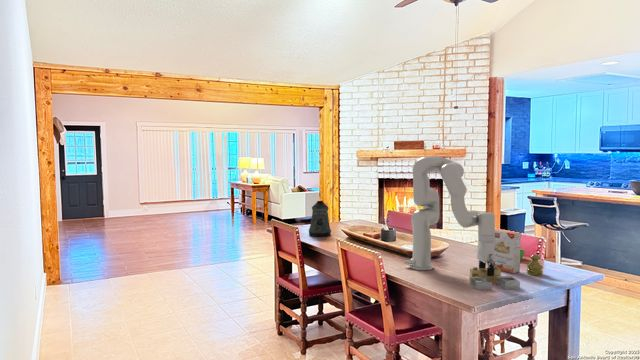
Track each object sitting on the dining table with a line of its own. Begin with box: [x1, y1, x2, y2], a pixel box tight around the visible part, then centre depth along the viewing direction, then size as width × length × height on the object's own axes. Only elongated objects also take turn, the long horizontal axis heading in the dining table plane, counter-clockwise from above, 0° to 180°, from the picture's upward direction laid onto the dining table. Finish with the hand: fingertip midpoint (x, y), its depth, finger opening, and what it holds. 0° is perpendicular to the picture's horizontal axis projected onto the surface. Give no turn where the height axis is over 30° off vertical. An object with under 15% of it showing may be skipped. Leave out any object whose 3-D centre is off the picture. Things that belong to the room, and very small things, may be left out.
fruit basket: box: [520, 242, 526, 260], centre depth 264 cm, size 11×9×11 cm
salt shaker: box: [526, 253, 544, 277], centre depth 233 cm, size 7×7×10 cm
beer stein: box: [308, 200, 332, 238], centre depth 338 cm, size 16×19×25 cm
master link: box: [469, 266, 502, 283], centre depth 222 cm, size 14×3×7 cm, turn 94°
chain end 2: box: [495, 275, 521, 290], centre depth 214 cm, size 7×9×4 cm
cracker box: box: [494, 228, 522, 274], centre depth 240 cm, size 14×6×21 cm, turn 33°
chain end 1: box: [468, 276, 493, 291], centre depth 213 cm, size 7×9×4 cm
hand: (486, 273), depth 222 cm, fingers open, 9 cm apart
